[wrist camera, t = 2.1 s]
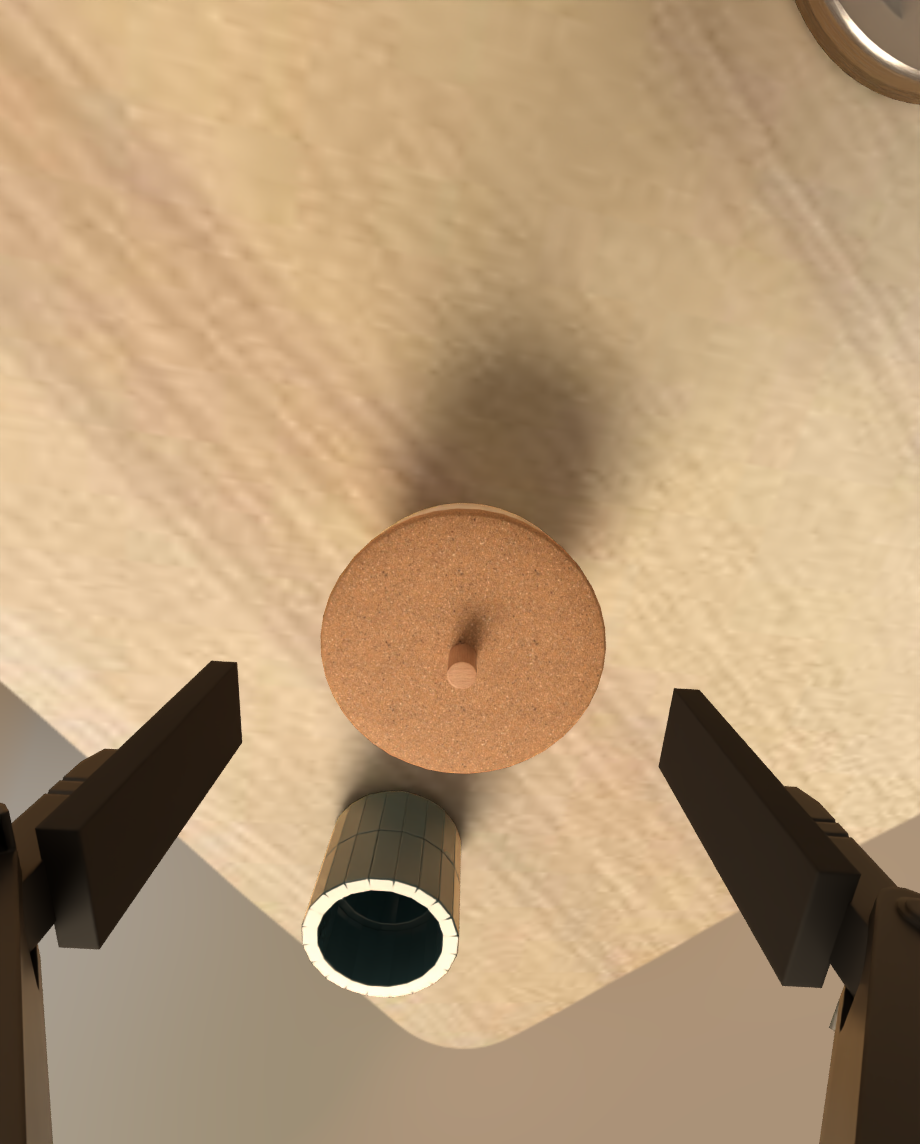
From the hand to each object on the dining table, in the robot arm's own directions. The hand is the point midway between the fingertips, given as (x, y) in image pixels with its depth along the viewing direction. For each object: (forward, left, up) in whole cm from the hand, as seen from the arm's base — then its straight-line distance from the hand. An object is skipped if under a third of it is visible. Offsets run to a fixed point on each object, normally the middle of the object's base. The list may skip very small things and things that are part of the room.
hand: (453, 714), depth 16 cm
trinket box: (0, 0, -12) cm, 12 cm away
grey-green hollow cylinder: (+3, +16, -12) cm, 20 cm away
